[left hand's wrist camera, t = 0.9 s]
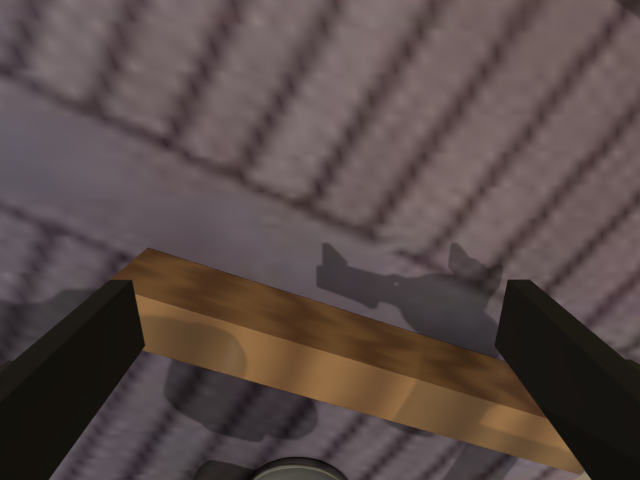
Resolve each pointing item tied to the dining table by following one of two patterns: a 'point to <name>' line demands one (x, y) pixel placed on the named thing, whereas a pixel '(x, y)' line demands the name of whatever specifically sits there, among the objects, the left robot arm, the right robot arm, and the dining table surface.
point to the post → (337, 358)
